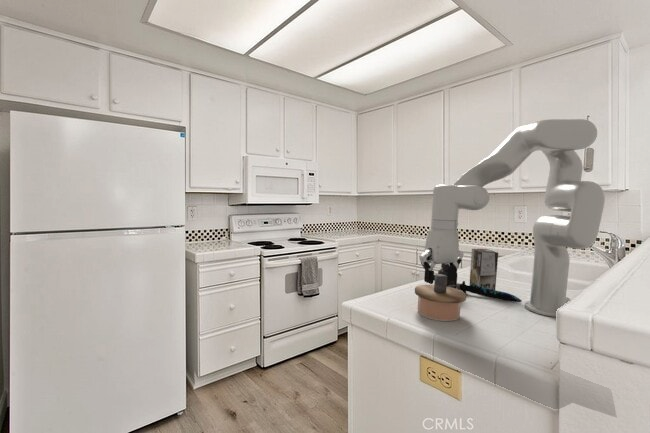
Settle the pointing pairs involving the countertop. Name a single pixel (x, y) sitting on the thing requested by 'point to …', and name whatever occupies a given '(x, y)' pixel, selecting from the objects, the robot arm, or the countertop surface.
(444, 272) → the supplement bottle
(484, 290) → the knife
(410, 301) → the countertop surface
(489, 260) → the coffee box
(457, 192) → the robot arm
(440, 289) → the lid
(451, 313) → the bowl
